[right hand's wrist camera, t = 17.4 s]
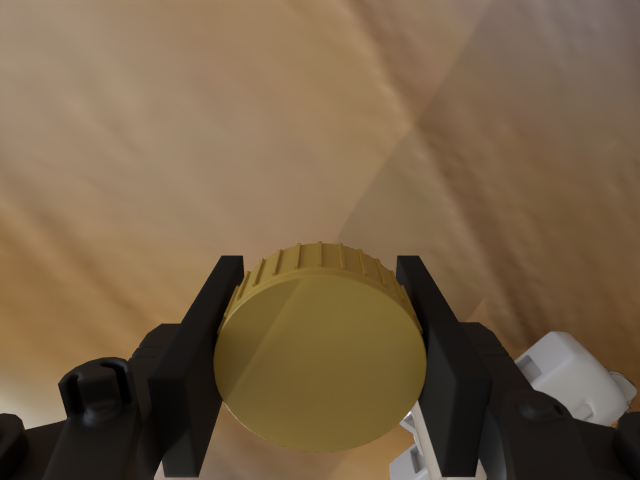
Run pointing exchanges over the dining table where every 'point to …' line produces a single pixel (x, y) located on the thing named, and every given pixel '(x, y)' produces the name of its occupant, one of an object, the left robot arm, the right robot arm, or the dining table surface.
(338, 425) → the lid
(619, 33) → the dining table surface
